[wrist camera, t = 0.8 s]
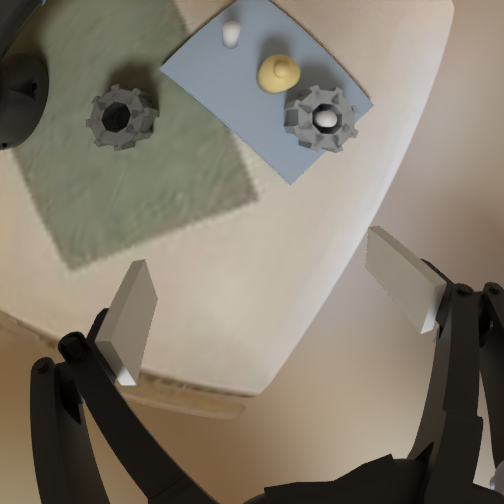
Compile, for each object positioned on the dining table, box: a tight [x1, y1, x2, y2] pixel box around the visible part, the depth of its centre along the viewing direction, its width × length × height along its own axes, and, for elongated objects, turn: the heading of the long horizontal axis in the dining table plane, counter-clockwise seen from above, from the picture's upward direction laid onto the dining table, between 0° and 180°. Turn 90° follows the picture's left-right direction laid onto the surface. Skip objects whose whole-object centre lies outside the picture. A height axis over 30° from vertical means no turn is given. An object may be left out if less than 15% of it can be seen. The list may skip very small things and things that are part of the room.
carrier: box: [159, 0, 373, 185], centre depth 26 cm, size 22×16×7 cm
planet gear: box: [86, 84, 159, 151], centre depth 27 cm, size 7×8×5 cm
